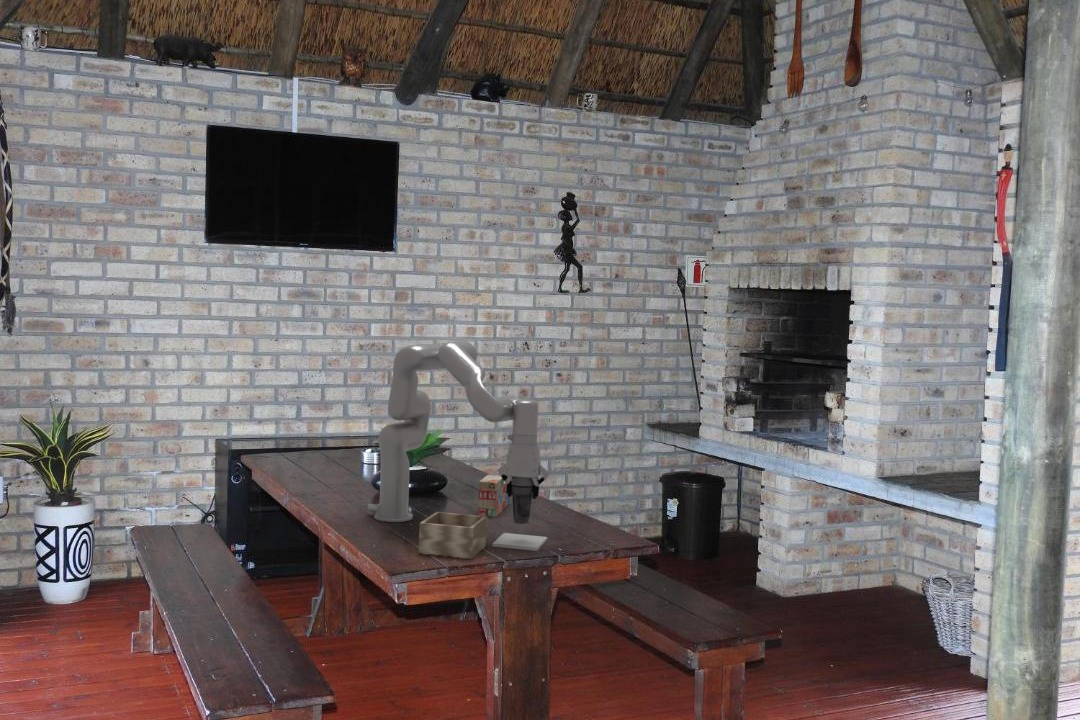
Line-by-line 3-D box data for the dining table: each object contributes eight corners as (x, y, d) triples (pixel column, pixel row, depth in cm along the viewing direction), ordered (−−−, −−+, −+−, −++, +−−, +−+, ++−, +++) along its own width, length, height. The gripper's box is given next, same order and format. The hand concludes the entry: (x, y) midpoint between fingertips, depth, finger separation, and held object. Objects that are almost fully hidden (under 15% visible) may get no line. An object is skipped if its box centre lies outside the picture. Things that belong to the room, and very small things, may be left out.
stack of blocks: (491, 503, 388) (493, 469, 387) (508, 505, 387) (510, 471, 386) (477, 516, 367) (479, 480, 366) (495, 518, 366) (497, 482, 365)
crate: (418, 553, 316) (419, 523, 315) (435, 540, 331) (436, 511, 331) (471, 558, 312) (472, 528, 312) (485, 545, 328) (487, 516, 327)
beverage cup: (508, 519, 336) (511, 455, 334) (532, 519, 336) (534, 455, 335) (510, 524, 328) (512, 459, 327) (534, 525, 329) (536, 460, 327)
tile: (492, 546, 328) (492, 543, 327) (503, 535, 341) (503, 532, 341) (537, 551, 325) (537, 547, 324) (547, 540, 338) (547, 537, 338)
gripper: (493, 439, 328) (491, 497, 330) (550, 443, 325) (547, 502, 326) (500, 436, 336) (497, 492, 337) (555, 440, 332) (552, 497, 334)
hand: (522, 496), depth 332 cm, fingers closed on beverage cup, 7 cm apart
